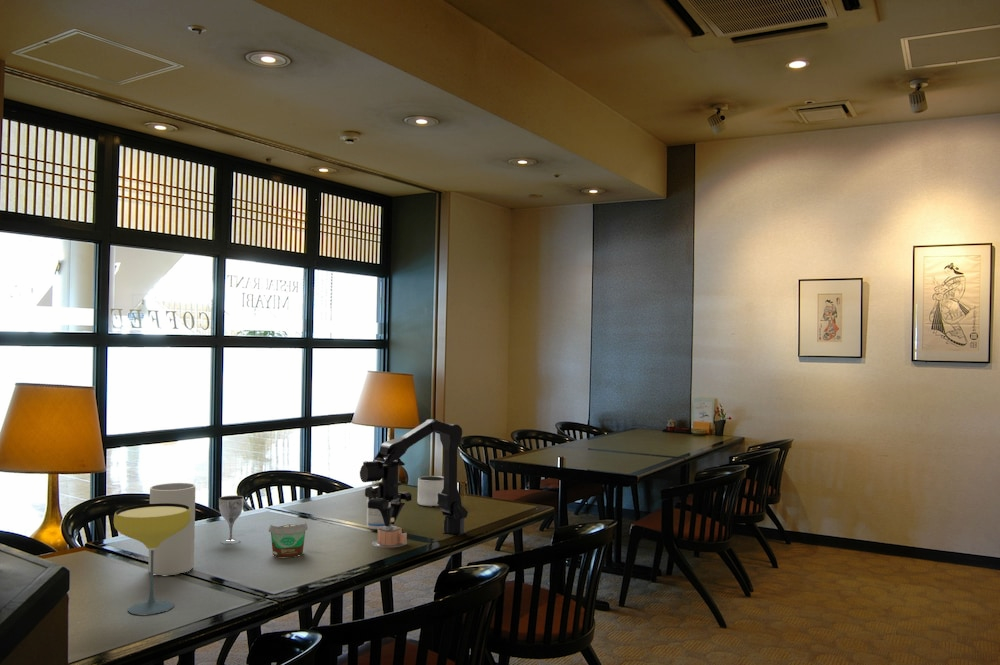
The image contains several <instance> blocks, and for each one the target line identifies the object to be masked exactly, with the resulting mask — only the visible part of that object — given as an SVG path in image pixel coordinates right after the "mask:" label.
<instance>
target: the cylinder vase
mask: <svg viewBox="0 0 1000 665" xmlns="http://www.w3.org/2000/svg"><path fill="white" fill-rule="evenodd" d="M157 503H173V504H183V505H187V506H189V507H190V510H191V519H190V522H189V524H188V525H187V526H186V527H185V528H184V529H182V530H181V531H179V532H178V533H176V534H174V535H172V536H170V537H168V538H167V539H165V540H164V541H162V542H161V543H160V545H159V546H158V547H157V548H156V549H155V550H154V557H153V574H156V575H173V574H179V573H183V572H185V571H188V570H190V569H192V568H193V567H194V568H195V538H196V537H195V536H196V535H195V531H196V530H195V526H196V522H195V521H196V520H195V519H196V484H194V483H189V482H186V483H185V482H171V483H162V484H156V485H152V486H151V487H149V504H157ZM194 568H193V569H194ZM193 569H192V570H193ZM149 572H150V573H151V550H149V549H148V573H149ZM150 573H149V574H150Z"/></svg>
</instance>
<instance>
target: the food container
mask: <svg viewBox="0 0 1000 665" xmlns="http://www.w3.org/2000/svg"><path fill="white" fill-rule="evenodd" d="M307 530H308V524H307V521H305V522H304V523H301V524H285V525H280V526H275V525H273V524H270V525H269V528H268V532H269V533H270V537H271V549H272V556H273V555H274V556H276V557H275V558H278V557H293V558H295V557H294V556H298V555H301V554H302V553H303V552H304V544H305V538H306V537H305V536H306V531H307ZM303 554H304V553H303ZM303 554H302V555H303ZM302 555H301V556H302ZM274 556H273V557H274ZM298 557H299V556H298Z"/></svg>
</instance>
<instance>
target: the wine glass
mask: <svg viewBox="0 0 1000 665" xmlns="http://www.w3.org/2000/svg"><path fill="white" fill-rule="evenodd" d="M243 507H244V496H242V495H225V496H221V497H219V498H218V508H219V512H220V515H221V517H222V518H223V519H224V520H225V521H226V523H227V525H228V528H229V529H228V530H229V537H228V538H227V540H226V539H225V540H226V541H235V540H237V539H238V538H234V537H233V526H234V524H235V522H236V521H237V520H238V518H239V517H241V516H240V515H242V513H243V509H244V508H243Z"/></svg>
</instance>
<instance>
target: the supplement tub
mask: <svg viewBox="0 0 1000 665" xmlns="http://www.w3.org/2000/svg"><path fill="white" fill-rule="evenodd" d="M371 487H372V488H373V489H374V488H377V487H379V485H378V486H371ZM377 498H378V497H377ZM372 499H374V498H372ZM381 499H382V498H381ZM368 501H369V498H368V497H366V527H367V529H372V530H378V528H380V527H383V526H385V523H384V520H383V517H382V514H381V512H380V511H379V510H378V509H371V508H368ZM391 526H393V525H392V524H391Z"/></svg>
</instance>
